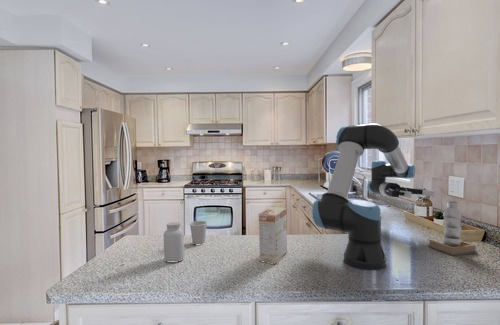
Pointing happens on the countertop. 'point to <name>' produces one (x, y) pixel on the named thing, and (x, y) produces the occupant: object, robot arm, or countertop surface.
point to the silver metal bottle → (452, 225)
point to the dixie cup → (198, 231)
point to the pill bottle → (173, 242)
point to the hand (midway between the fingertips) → (422, 194)
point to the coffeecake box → (272, 234)
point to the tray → (454, 248)
